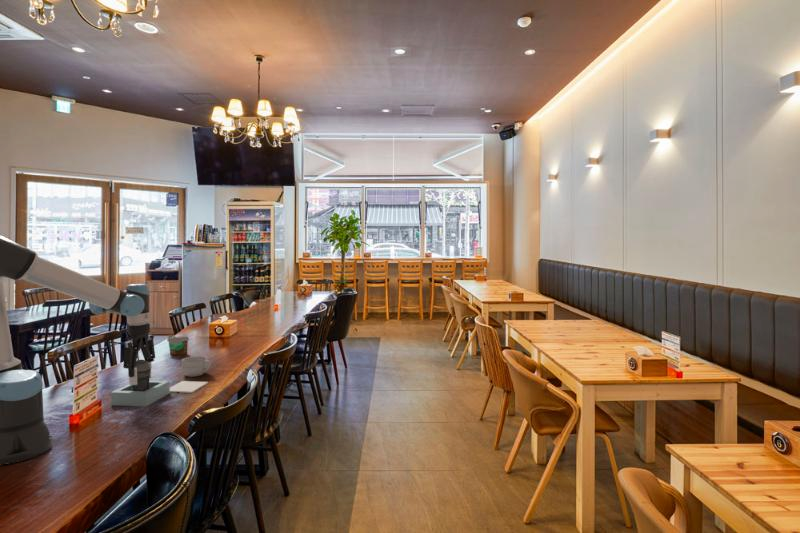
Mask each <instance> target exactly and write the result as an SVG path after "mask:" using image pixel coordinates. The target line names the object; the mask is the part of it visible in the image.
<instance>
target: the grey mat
mask: <svg viewBox="0 0 800 533" xmlns="http://www.w3.org/2000/svg"><path fill="white" fill-rule="evenodd" d="M207 384H209V382H208V381H195V380H191V381H190V380H181V381H180V382H178V383H175V384H174V385H172V386H170V393H177V392H179V394H180V393H182V394H193V393H194V392H196V391H198V390H200V389H201V388H202V387H205V386H206V385H207Z"/></svg>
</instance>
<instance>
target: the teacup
mask: <svg viewBox="0 0 800 533" xmlns="http://www.w3.org/2000/svg"><path fill="white" fill-rule="evenodd" d="M211 365H212V362H211V361H210V359H208V356H205V355H194V356H188V357H184V358H181V370H182V373H183V374H184V375H185V376H187V377H199V376H203V375H204V374H205V373H206V371H207V370H209V369H210V367H211Z"/></svg>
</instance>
